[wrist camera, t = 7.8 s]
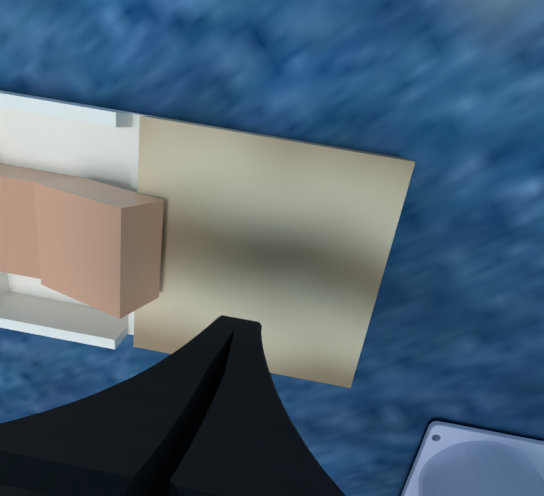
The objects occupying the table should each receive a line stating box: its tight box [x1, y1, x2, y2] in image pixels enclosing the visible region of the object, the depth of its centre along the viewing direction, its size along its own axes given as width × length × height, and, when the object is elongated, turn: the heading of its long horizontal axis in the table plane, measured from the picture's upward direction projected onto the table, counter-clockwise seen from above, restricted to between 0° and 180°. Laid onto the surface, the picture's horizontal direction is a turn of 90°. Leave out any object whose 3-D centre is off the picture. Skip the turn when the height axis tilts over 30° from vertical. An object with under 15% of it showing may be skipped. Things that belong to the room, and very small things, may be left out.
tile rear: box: [0, 163, 83, 279], centre depth 18 cm, size 5×5×2 cm
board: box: [134, 116, 415, 388], centre depth 18 cm, size 12×12×2 cm
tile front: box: [34, 178, 164, 319], centre depth 16 cm, size 5×5×2 cm
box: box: [0, 90, 158, 349], centre depth 18 cm, size 12×9×3 cm
